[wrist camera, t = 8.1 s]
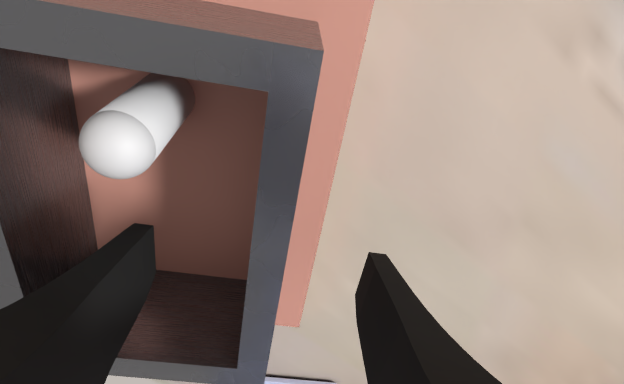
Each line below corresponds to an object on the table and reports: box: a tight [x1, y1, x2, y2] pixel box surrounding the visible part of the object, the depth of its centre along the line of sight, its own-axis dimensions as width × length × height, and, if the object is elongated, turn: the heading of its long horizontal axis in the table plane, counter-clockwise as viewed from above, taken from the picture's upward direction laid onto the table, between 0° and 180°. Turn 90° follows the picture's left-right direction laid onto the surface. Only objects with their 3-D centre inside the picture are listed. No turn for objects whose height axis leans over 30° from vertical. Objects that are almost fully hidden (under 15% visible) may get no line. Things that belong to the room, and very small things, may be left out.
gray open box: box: [0, 0, 324, 384], centre depth 14 cm, size 14×10×5 cm
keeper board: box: [68, 0, 374, 327], centre depth 15 cm, size 18×14×7 cm
